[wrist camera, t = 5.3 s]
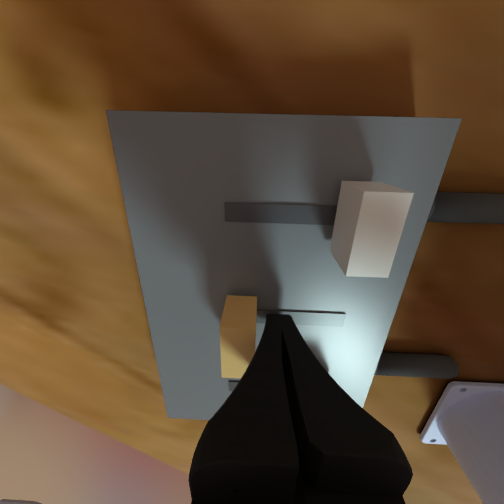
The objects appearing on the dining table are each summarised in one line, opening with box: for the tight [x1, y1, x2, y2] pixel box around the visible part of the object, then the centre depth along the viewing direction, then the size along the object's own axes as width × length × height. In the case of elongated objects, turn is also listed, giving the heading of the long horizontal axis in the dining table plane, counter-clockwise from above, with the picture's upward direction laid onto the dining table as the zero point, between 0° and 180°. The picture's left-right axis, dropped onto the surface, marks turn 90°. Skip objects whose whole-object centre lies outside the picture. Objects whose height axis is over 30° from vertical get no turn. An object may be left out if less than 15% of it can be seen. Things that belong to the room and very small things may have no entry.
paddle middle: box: [220, 295, 257, 378], centre depth 12 cm, size 2×3×2 cm, turn 179°
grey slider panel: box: [106, 110, 462, 420], centre depth 15 cm, size 14×20×3 cm
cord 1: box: [427, 192, 504, 224], centre depth 13 cm, size 7×2×2 cm, turn 89°
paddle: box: [330, 181, 414, 278], centre depth 10 cm, size 2×3×2 cm, turn 179°
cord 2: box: [374, 352, 459, 379], centre depth 18 cm, size 7×2×2 cm, turn 89°
